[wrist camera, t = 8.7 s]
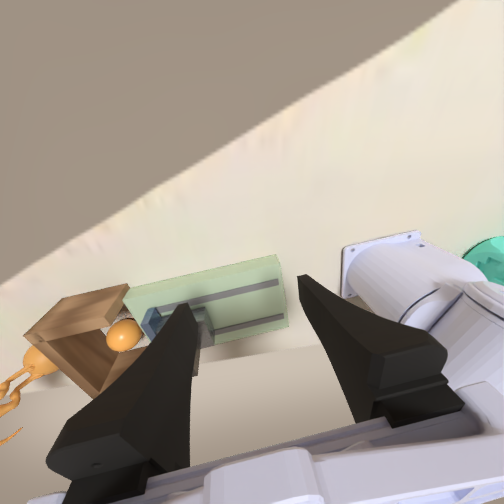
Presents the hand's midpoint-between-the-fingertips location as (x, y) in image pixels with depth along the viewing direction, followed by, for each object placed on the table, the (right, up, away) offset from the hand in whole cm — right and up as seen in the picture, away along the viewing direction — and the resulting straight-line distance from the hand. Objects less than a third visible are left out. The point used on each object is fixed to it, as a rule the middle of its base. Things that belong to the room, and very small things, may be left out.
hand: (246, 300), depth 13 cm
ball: (-14, -7, +10) cm, 19 cm away
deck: (-4, -3, +12) cm, 14 cm away
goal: (-16, -6, +12) cm, 21 cm away
